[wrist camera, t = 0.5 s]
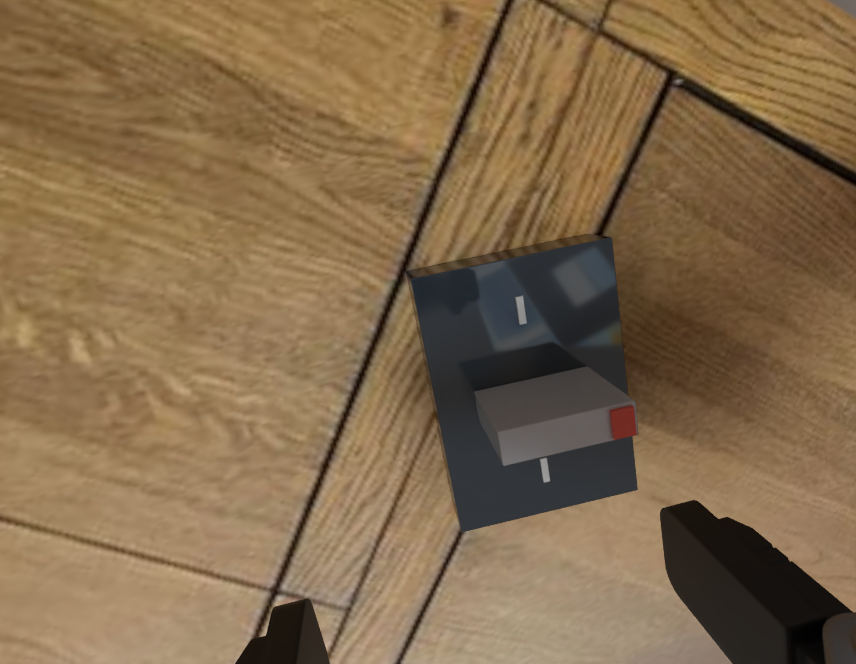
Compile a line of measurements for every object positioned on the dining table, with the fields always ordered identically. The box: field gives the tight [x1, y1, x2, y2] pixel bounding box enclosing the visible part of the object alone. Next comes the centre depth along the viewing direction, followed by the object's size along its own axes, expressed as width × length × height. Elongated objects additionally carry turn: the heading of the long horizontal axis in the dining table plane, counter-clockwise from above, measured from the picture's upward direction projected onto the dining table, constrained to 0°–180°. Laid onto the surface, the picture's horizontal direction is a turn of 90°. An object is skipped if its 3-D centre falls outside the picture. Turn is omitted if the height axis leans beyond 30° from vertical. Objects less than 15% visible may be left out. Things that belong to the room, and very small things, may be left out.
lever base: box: [406, 234, 637, 532], centre depth 29 cm, size 14×10×3 cm
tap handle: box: [474, 366, 638, 466], centre depth 25 cm, size 6×2×5 cm, turn 101°
